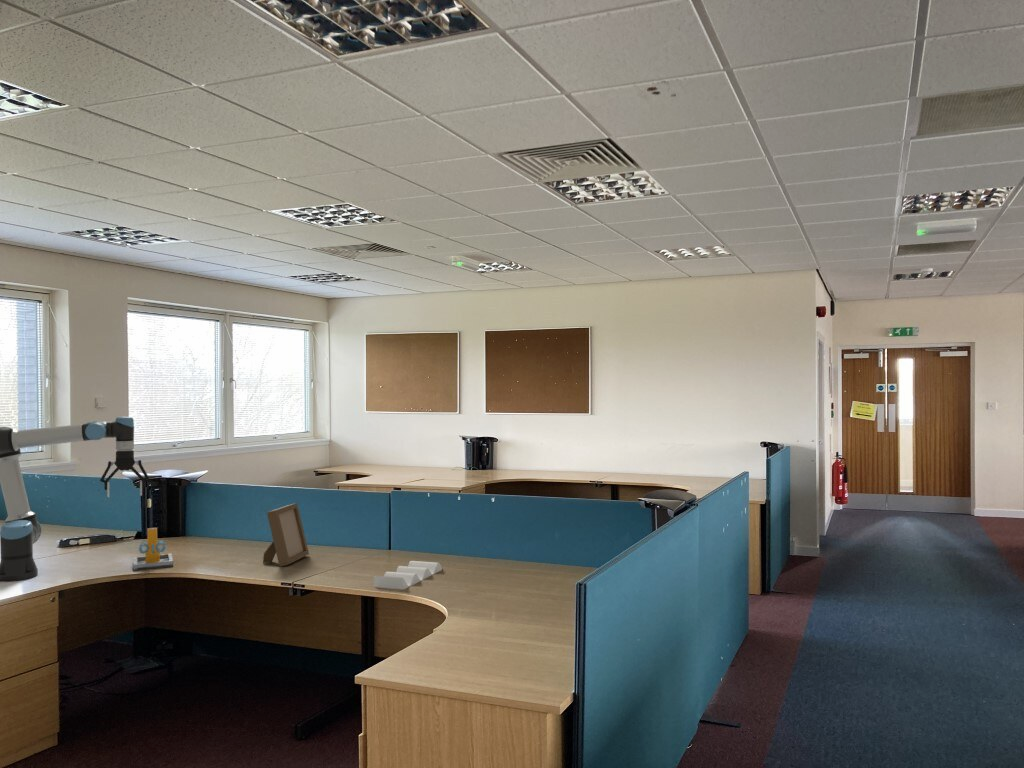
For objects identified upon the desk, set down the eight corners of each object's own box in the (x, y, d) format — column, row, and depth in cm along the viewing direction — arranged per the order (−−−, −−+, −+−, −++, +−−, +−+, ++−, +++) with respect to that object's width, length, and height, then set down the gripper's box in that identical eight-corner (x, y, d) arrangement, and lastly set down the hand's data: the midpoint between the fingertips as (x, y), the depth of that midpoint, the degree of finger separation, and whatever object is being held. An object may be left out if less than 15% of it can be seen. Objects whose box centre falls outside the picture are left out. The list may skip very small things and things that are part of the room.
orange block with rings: (171, 559, 361) (171, 526, 362) (159, 564, 351) (159, 530, 351) (146, 559, 362) (145, 526, 363) (133, 564, 352) (133, 530, 352)
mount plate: (133, 570, 345) (133, 564, 345) (133, 562, 361) (133, 557, 361) (173, 566, 352) (173, 560, 352) (171, 558, 368) (171, 553, 368)
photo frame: (309, 556, 369) (308, 503, 369) (288, 566, 347) (287, 510, 347) (279, 555, 371) (278, 502, 371) (257, 566, 350) (256, 510, 350)
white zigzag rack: (443, 570, 338) (442, 558, 338) (403, 591, 305) (403, 577, 305) (415, 568, 342) (415, 556, 342) (374, 588, 310) (374, 575, 310)
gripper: (93, 451, 355) (93, 498, 355) (154, 449, 365) (154, 495, 365) (95, 450, 362) (95, 496, 362) (154, 448, 372) (154, 493, 372)
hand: (124, 496), depth 363 cm, fingers open, 13 cm apart
